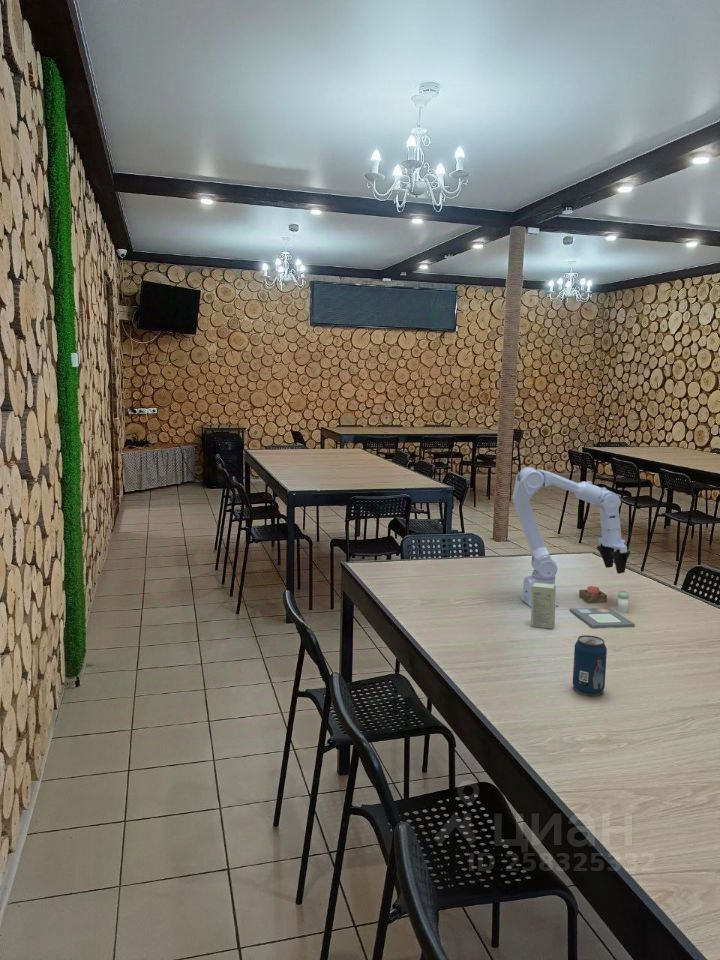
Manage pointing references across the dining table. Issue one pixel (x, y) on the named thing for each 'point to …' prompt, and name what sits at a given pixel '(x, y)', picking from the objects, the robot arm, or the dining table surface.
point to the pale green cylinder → (623, 601)
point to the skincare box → (543, 605)
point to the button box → (593, 597)
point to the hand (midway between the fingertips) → (615, 569)
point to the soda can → (589, 665)
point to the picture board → (601, 617)
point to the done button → (592, 590)
